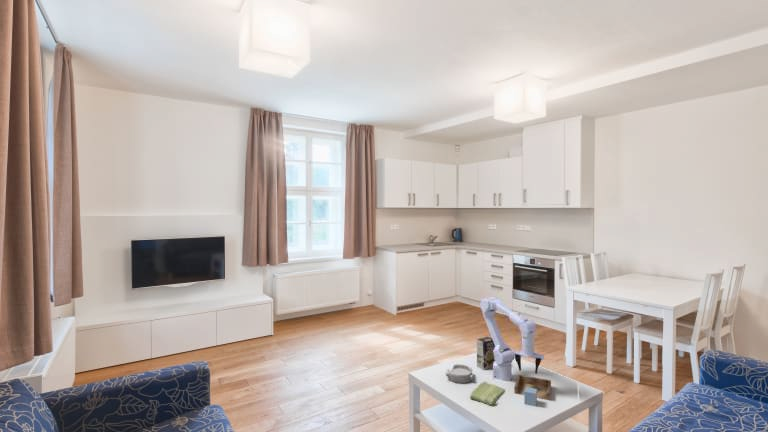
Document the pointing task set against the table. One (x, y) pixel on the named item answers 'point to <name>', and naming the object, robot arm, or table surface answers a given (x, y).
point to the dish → (460, 373)
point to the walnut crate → (533, 386)
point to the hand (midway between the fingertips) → (528, 371)
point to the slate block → (530, 396)
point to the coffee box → (485, 353)
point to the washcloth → (487, 393)
